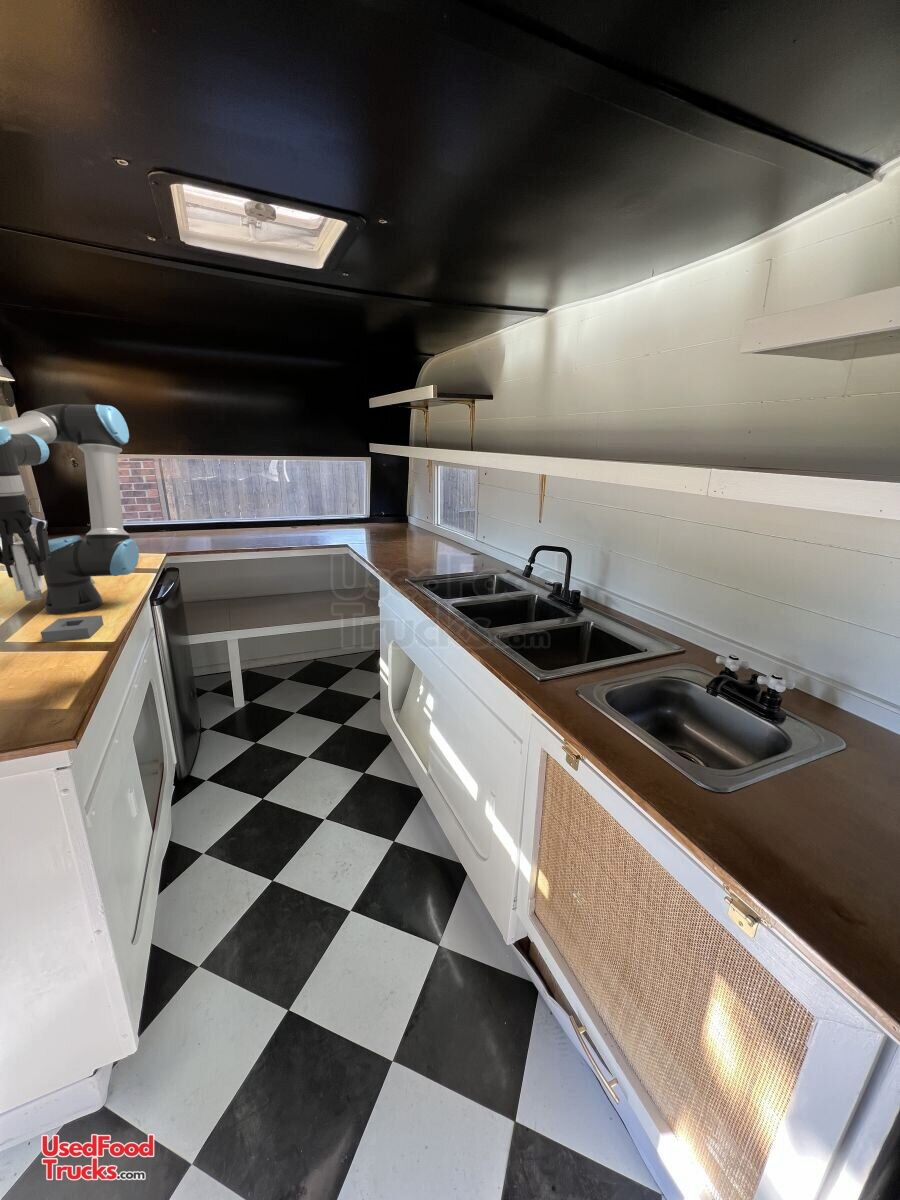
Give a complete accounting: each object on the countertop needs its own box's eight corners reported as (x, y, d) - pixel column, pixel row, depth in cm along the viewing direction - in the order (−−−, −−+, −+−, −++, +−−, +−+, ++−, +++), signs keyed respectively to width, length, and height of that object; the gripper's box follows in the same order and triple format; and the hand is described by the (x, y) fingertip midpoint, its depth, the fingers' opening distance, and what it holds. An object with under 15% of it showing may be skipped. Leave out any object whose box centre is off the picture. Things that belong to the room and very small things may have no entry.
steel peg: (29, 597, 123) (14, 543, 119) (45, 596, 124) (30, 542, 120) (22, 601, 120) (6, 546, 116) (38, 600, 121) (23, 545, 117)
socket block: (60, 628, 143) (58, 618, 142) (103, 624, 146) (101, 615, 145) (43, 642, 133) (40, 632, 132) (89, 638, 136) (87, 628, 135)
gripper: (-49, 496, 108) (-18, 596, 116) (38, 495, 113) (63, 590, 120) (-29, 493, 115) (-1, 587, 123) (53, 491, 120) (75, 582, 127)
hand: (31, 588), depth 121 cm, fingers closed on steel peg, 3 cm apart
